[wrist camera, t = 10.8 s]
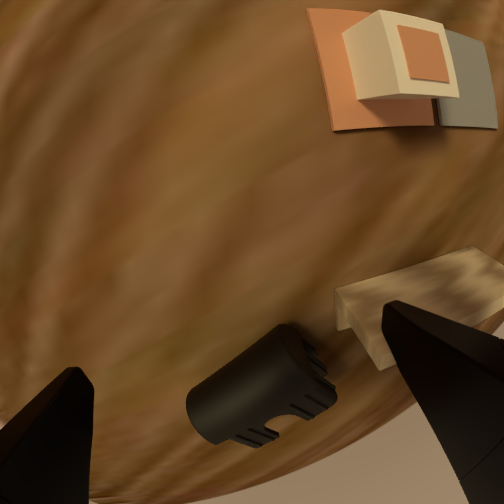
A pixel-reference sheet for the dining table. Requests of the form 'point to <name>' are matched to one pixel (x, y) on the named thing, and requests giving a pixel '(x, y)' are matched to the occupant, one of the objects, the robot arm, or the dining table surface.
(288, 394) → the end cap
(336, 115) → the terracotta tile
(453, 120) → the slate tile
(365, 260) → the dining table surface
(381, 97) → the marked cube
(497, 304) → the beech screen
